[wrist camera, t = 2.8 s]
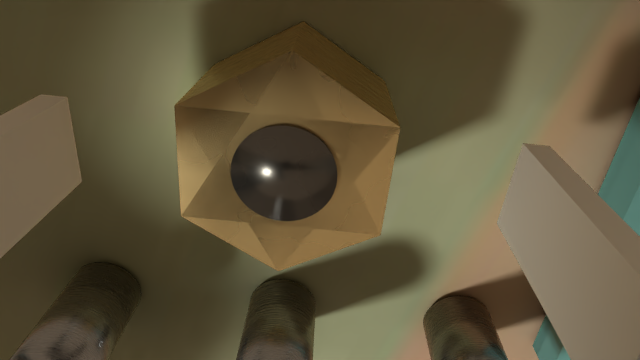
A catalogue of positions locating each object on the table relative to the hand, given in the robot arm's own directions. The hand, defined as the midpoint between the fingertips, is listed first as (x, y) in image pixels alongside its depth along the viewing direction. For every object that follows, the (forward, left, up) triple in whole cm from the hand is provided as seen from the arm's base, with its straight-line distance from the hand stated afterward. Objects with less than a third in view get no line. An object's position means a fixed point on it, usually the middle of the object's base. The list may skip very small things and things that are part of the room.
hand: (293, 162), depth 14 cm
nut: (0, 0, -4) cm, 4 cm away
